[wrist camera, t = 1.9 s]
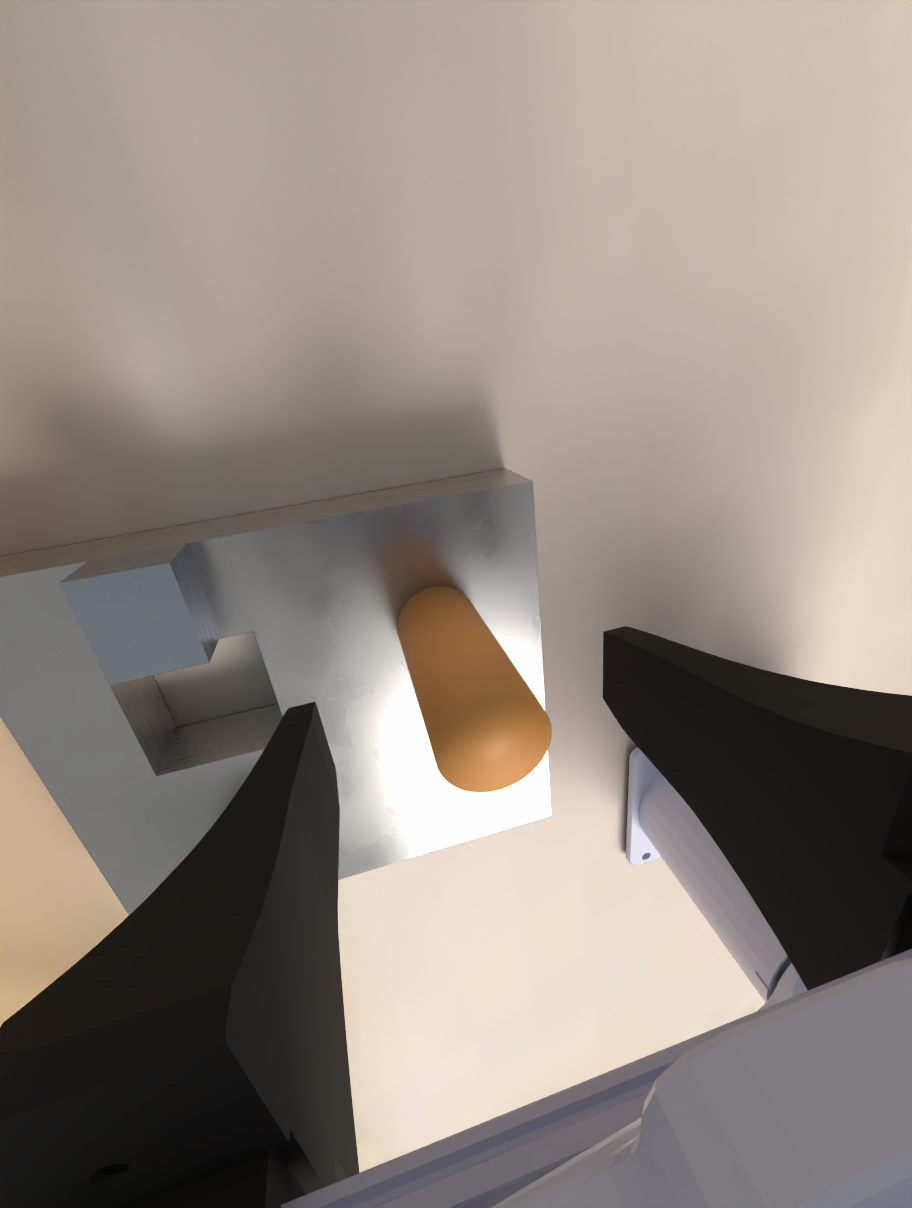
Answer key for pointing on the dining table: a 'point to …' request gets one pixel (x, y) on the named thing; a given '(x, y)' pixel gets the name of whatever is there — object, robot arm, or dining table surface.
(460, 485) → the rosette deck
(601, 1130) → the robot arm
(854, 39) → the dining table surface
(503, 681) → the orange rounded capsule
